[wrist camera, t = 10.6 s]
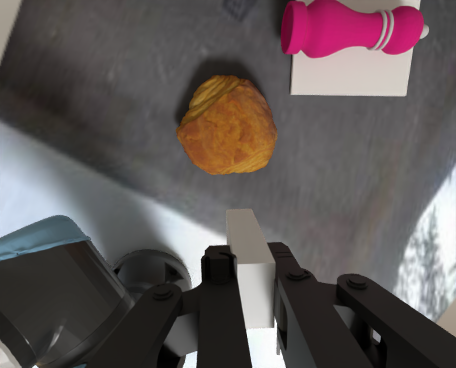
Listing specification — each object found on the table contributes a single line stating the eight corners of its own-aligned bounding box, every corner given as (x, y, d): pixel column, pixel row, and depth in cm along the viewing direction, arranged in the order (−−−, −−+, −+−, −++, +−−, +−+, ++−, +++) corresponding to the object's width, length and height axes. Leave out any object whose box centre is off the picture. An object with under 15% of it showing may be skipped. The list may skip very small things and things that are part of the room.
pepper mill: (278, 63, 42) (406, 64, 44) (293, 50, 35) (444, 52, 37) (280, 10, 41) (411, 13, 42) (296, -15, 34) (452, -10, 35)
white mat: (289, 94, 45) (291, 94, 44) (296, -22, 41) (298, -25, 40) (402, 96, 45) (405, 95, 44) (419, -19, 41) (423, -22, 41)
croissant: (246, 68, 46) (249, 49, 38) (285, 155, 47) (296, 155, 39) (166, 107, 46) (152, 96, 39) (207, 192, 48) (202, 199, 40)
